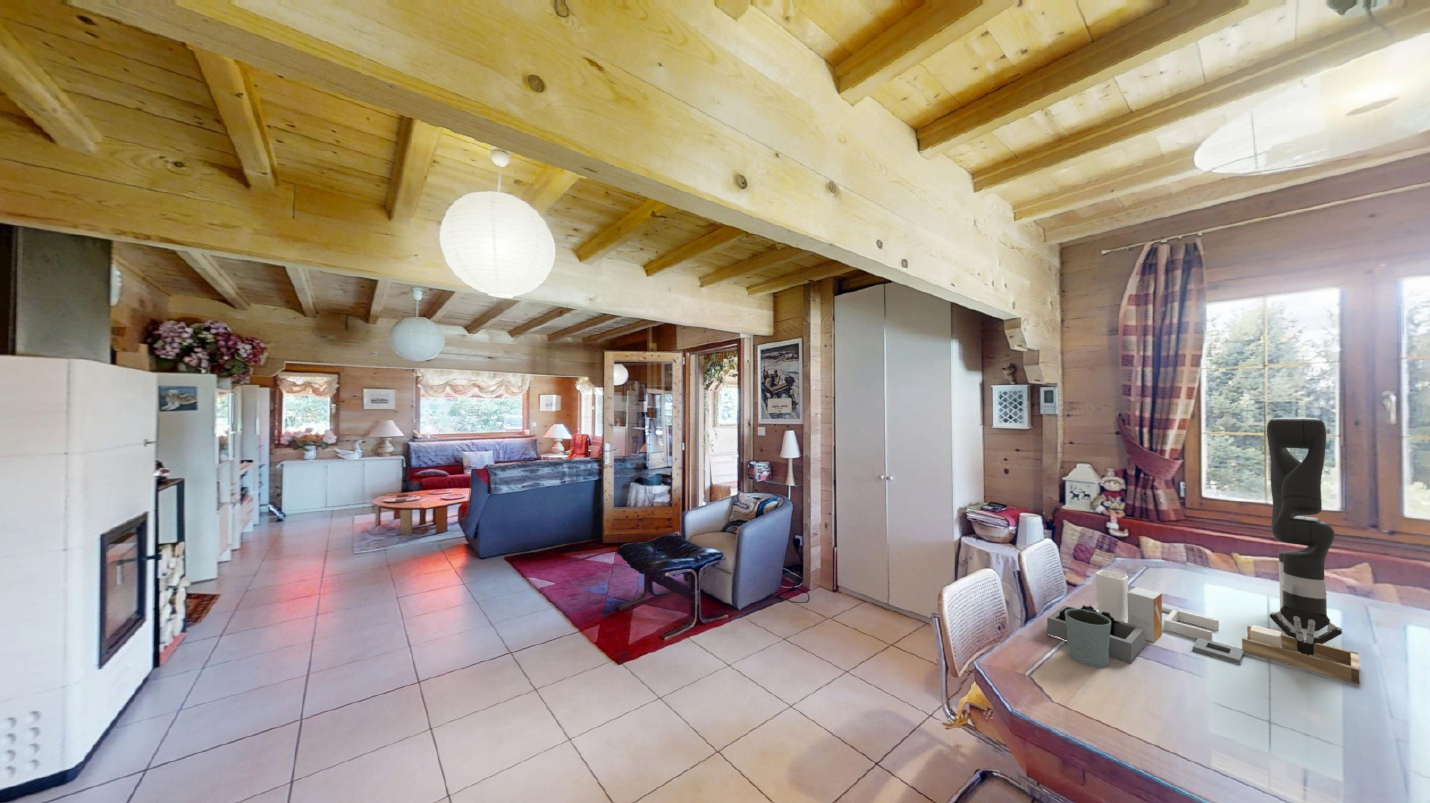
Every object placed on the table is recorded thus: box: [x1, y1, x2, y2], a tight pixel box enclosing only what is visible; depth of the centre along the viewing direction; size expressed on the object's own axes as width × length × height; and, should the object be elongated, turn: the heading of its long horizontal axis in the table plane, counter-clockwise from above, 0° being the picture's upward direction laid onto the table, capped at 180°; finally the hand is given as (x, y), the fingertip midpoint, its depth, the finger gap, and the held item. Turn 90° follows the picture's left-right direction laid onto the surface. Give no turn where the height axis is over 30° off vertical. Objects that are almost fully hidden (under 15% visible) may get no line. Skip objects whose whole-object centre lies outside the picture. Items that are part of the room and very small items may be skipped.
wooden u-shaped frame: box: [1241, 625, 1361, 685], centre depth 129 cm, size 13×20×4 cm
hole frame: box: [1192, 637, 1245, 665], centre depth 132 cm, size 9×9×1 cm
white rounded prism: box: [1095, 569, 1129, 622], centre depth 153 cm, size 7×7×15 cm
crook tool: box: [1162, 606, 1174, 614], centre depth 154 cm, size 4×13×1 cm, turn 44°
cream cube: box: [1250, 624, 1283, 648], centre depth 133 cm, size 6×6×6 cm
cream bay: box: [1163, 608, 1220, 641], centre depth 145 cm, size 13×10×3 cm
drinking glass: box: [1065, 608, 1111, 668], centre depth 129 cm, size 10×10×12 cm
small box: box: [1127, 586, 1163, 643], centre depth 142 cm, size 8×6×13 cm
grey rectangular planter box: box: [1046, 605, 1146, 664], centre depth 139 cm, size 15×20×6 cm
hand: (1305, 654), depth 128 cm, fingers closed
